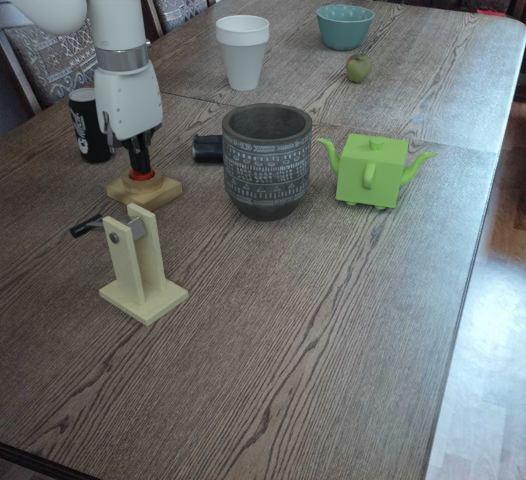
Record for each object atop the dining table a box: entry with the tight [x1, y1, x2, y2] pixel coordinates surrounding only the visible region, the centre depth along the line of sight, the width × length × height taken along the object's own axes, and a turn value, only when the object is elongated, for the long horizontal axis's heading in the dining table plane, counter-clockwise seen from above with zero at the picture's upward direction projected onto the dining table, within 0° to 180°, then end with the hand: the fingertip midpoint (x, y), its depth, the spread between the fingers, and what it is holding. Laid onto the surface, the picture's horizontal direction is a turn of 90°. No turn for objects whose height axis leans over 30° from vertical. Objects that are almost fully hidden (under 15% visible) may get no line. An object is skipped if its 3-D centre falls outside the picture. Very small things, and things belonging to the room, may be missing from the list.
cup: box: [215, 14, 270, 92], centre depth 129 cm, size 12×12×14 cm
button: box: [130, 168, 154, 181], centre depth 95 cm, size 4×4×2 cm
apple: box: [345, 53, 371, 84], centre depth 135 cm, size 6×8×6 cm
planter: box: [221, 102, 313, 222], centre depth 90 cm, size 14×14×15 cm
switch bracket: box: [98, 203, 190, 328], centre depth 74 cm, size 10×8×13 cm
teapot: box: [316, 133, 438, 210], centre depth 94 cm, size 15×13×11 cm
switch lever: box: [69, 213, 147, 241], centre depth 74 cm, size 13×5×2 cm, turn 50°
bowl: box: [315, 4, 375, 51], centre depth 152 cm, size 16×16×8 cm
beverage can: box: [67, 87, 116, 164], centre depth 104 cm, size 7×7×12 cm
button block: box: [104, 164, 184, 213], centre depth 97 cm, size 10×9×4 cm
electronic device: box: [191, 132, 224, 163], centre depth 107 cm, size 9×6×15 cm
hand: (141, 170), depth 95 cm, fingers closed
